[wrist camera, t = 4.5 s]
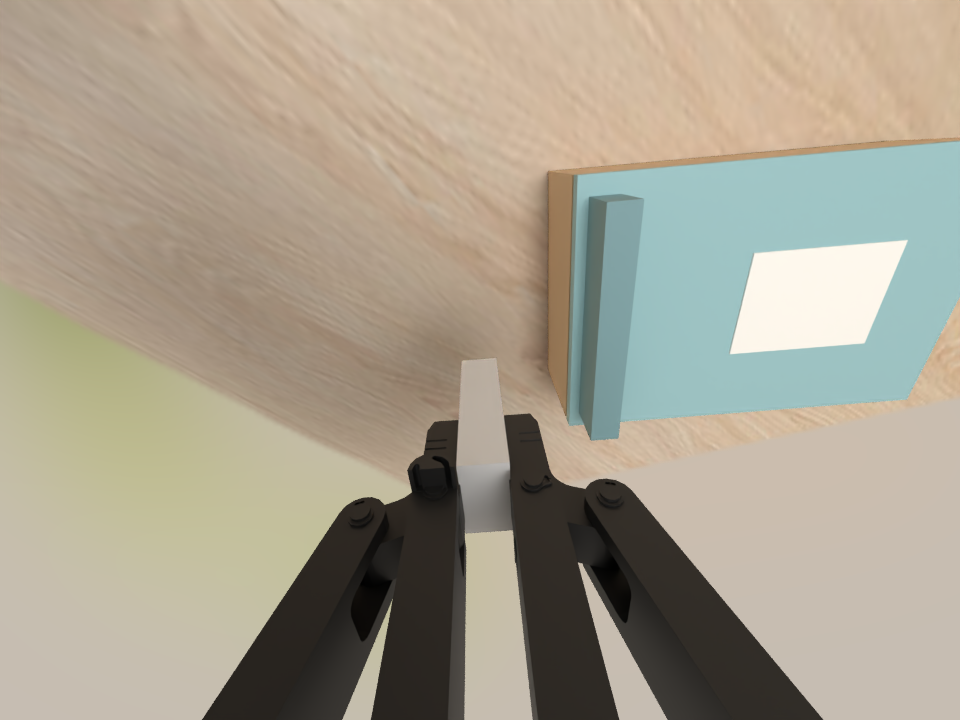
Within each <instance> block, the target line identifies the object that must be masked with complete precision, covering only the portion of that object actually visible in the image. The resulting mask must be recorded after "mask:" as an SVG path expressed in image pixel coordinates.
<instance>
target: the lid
mask: <svg viewBox="0 0 960 720" xmlns="http://www.w3.org/2000/svg"><path fill="white" fill-rule="evenodd" d="M959 297H960V140H959V141H947V142H936V143H925V144H914V145H903V146H891V147H880V148H869V149H858V150H846V151H835V152H824V153H813V154H802V155H790V156H779V157H768V158H757V159H746V160H734V161H723V162H712V163H701V164H689V165H678V166H667V167H656V168H645V169H633V170H622V171H611V172H600V173H589V174H577V175H574V185H573V218H572V252H571V286H570V320H569V354H568V388H567V421H568V424H569V426H573V425H584V426H585V428H586V430H587V433H588V435H589V437H590V440H591V441H592V440H605V439H618V437H619V428H620V422H625V421H637V420H650V419H663V418H676V417H688V416H701V415H714V414H727V413H740V412H752V411H765V410H778V409H791V408H804V407H816V406H829V405H842V404H855V403H868V402H880V401H893V400H906V399H907V398H908V396H909V394H910V392H911V390H912V388H913V386H914V384H915V383H916V381H917V379H918V377H919V375H920V373H921V371H922V369H923V367H924V365H925V363H926V361H927V359H928V357H929V355H930V353H931V351H932V350H933V348H934V346H935V344H936V342H937V340H938V338H939V336H940V334H941V332H942V330H943V328H944V326H945V324H946V322H947V320H948V319H949V317H950V315H951V313H952V311H953V309H954V307H955V305H956V303H957V301H958V299H959Z"/></svg>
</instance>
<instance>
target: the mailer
mask: <svg viewBox="0 0 960 720" xmlns="http://www.w3.org/2000/svg"><path fill="white" fill-rule="evenodd" d="M959 140H960V138H942V139H921V140H899V141H881V142H869V143H858V144H847V145H836V146H825V147H814V148H802V149H791V150H780V151H769V152H758V153H746V154H735V155H724V156H713V157H702V158H691V159H679V160H668V161H657V162H646V163H635V164H623V165H612V166H601V167H590V168H579V169H568V170H556V171H548V370H549V373H550V375H551V378H552V381H553V383H554V386H555V389H556V392H557V394H558V397H559V400H560V402H561V405H562V408H563V410H564V413H565V416H567V388H568V354H569V320H570V286H571V252H572V218H573V185H574V175H577V174H589V173H600V172H611V171H622V170H633V169H645V168H656V167H667V166H678V165H689V164H701V163H712V162H723V161H734V160H746V159H757V158H768V157H779V156H790V155H802V154H813V153H824V152H835V151H846V150H858V149H869V148H880V147H891V146H903V145H914V144H925V143H936V142H947V141H959Z"/></svg>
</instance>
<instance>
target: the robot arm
mask: <svg viewBox="0 0 960 720" xmlns="http://www.w3.org/2000/svg"><path fill="white" fill-rule="evenodd" d="M407 471H408V475H409V480H410V485H411V489H412V493H411V494H409V495H408V496H406V497H405V498H403V499H400V500H398V501H395V502H393V503H390V504H386V505H384V504H383V503H382V502H381V501H380V500H379V499H376V498H373V497H370V498H369V497H367V498H361V499H358V500H355V501H353V502H351V503H350V504H348V505H347V506H346V507H345V508H344V509H343V510H342V511H341V512H340V513H339V515H338V516H337V518H336V519H335V521H334V522H333V524H332V525H331V527H330V528H329V530H328V531H327V533H326V534H325V536H324V537H323V539H322V540H321V542H320V543H319V545H318V546H317V548H316V549H315V551H314V552H313V554H312V555H311V557H310V558H309V560H308V561H307V563H306V564H305V566H304V567H303V569H302V570H301V572H300V573H299V575H298V576H297V578H296V579H295V581H294V582H293V584H292V585H291V587H290V588H289V590H288V591H287V593H286V594H285V596H284V597H283V599H282V600H281V602H280V603H279V605H278V606H277V608H276V609H275V611H274V612H273V614H272V615H271V617H270V618H269V620H268V621H267V623H266V624H265V626H264V627H263V629H262V630H261V632H260V633H259V635H258V636H257V638H256V639H255V641H254V643H253V644H252V646H251V647H250V648H249V650H248V651H247V653H246V654H245V656H244V657H243V659H242V661H241V662H240V664H239V665H238V667H237V668H236V670H235V671H234V672H233V674H232V676H231V677H230V679H229V680H228V682H227V683H226V685H225V686H224V688H223V689H222V691H221V692H220V694H219V695H218V697H217V698H216V700H215V701H214V703H213V704H212V706H211V707H210V709H209V710H208V712H207V713H206V715H205V716H204V718H203V719H202V720H342V719H343V716H344V714H345V712H346V709H347V707H348V704H349V702H350V699H351V697H352V695H353V692H354V690H355V688H356V685H357V683H358V680H359V678H360V676H361V673H362V671H363V668H364V666H365V664H366V661H367V659H368V656H369V654H370V651H371V649H372V647H373V644H374V642H375V639H376V637H377V635H378V632H379V630H380V628H381V625H382V623H383V620H384V618H385V615H386V613H387V611H388V608H389V606H390V603H391V601H392V599H393V601H392V606H391V612H390V618H389V623H388V629H387V634H386V639H385V645H384V651H383V656H382V662H381V667H380V673H379V678H378V684H377V689H376V695H375V700H374V706H373V712H372V717H371V720H464V692H465V610H466V607H465V604H466V603H465V602H466V545H465V533H479V532H492V531H507V530H513V535H514V551H515V563H516V567H517V577H518V586H519V595H520V605H521V614H522V623H523V633H524V642H525V651H526V660H527V669H528V679H529V689H530V697H531V707H532V716H533V720H619V717H618V713H617V709H616V706H615V702H614V698H613V694H612V691H611V687H610V683H609V679H608V676H607V671H606V668H605V664H604V660H603V656H602V652H601V649H600V645H599V641H598V638H597V633H596V630H595V626H594V622H593V618H592V615H591V611H590V607H589V603H588V600H587V596H586V592H585V588H584V584H583V581H582V577H581V573H580V569H579V565H578V562H579V563H583V566H584V568H585V570H586V572H587V574H588V575H589V577H590V579H591V581H592V583H593V585H594V587H595V588H596V590H597V592H598V594H599V596H600V597H601V599H602V601H603V603H604V605H605V607H606V608H607V610H608V612H609V614H610V616H611V617H612V619H613V621H614V623H615V625H616V627H617V628H618V630H619V632H620V634H621V636H622V638H623V639H624V641H625V643H626V645H627V647H628V648H629V650H630V652H631V654H632V656H633V658H634V659H635V661H636V663H637V665H638V667H639V668H640V670H641V672H642V674H643V676H644V678H645V679H646V681H647V683H648V685H649V686H650V689H651V690H652V692H653V694H654V695H655V698H656V699H657V701H658V703H659V705H660V707H661V708H662V710H663V712H664V714H665V716H666V718H667V719H668V720H823V719H822V718H821V717H820V715H819V714H818V713H817V712H816V711H815V709H814V708H813V707H812V706H811V704H810V703H809V702H808V701H807V700H806V699H805V697H804V696H803V695H802V694H801V693H800V692H799V690H798V689H797V688H796V686H795V685H794V684H793V683H792V682H791V681H790V679H789V678H788V677H787V676H786V675H785V673H784V672H783V671H782V670H781V669H780V667H779V666H778V665H777V664H776V663H775V662H774V660H773V659H772V658H771V657H770V655H769V654H768V653H767V652H766V651H765V649H764V648H763V647H762V646H761V645H760V643H759V642H758V641H757V640H756V639H755V637H754V636H753V635H752V634H751V633H750V632H749V630H748V629H747V628H746V627H745V625H744V624H743V623H742V622H741V621H740V619H739V618H738V617H737V616H736V615H735V614H734V612H733V611H732V610H731V609H730V608H729V606H728V605H727V604H726V603H725V601H723V599H722V598H721V597H720V596H719V594H718V593H717V592H716V591H715V589H714V588H713V587H712V586H711V585H710V584H709V582H708V581H707V580H706V579H705V578H704V576H703V575H702V574H701V573H700V572H699V570H698V569H697V568H696V567H695V566H694V565H693V563H692V562H691V561H690V560H689V558H688V557H687V556H686V555H685V554H684V552H683V551H682V550H681V549H680V548H679V546H678V545H677V544H676V543H675V542H674V540H673V539H672V538H671V537H670V536H669V535H668V533H667V532H666V531H665V530H664V528H663V527H662V526H661V525H660V524H659V522H658V521H657V520H656V519H655V518H654V516H653V515H652V514H651V513H650V512H649V511H648V509H647V508H646V507H645V506H644V504H643V503H642V502H641V501H640V500H639V498H638V497H637V496H636V495H635V494H634V493H633V491H632V490H631V489H630V488H628V487H627V486H626V485H625V484H623V483H620V482H618V481H616V480H611V479H599V480H595V481H594V482H591V483H590V484H589V485H588V486H587V488H586V489H583V488H577V487H572V486H569V485H566V484H564V483H562V482H560V481H559V480H557V479H556V478H555V477H554V476H553V475H552V473H551V471H550V469H549V465H548V461H547V457H546V453H545V449H544V445H543V441H542V437H541V434H540V430H539V426H538V422H537V421H536V420H535V419H534V418H533V417H532V415H531V414H518V415H505V416H504V414H503V406H502V398H501V390H500V383H499V375H498V367H497V359H496V358H487V359H475V360H462V366H461V385H460V403H459V420H452V421H439V422H434V423H433V425H432V426H431V427H430V429H429V430H428V432H427V438H426V444H425V451H424V455H423V456H421V457H419V458H416V459H415V460H414V461H413V462H412V463H411V464H410V466H409V468H408V470H407Z"/></svg>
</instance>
